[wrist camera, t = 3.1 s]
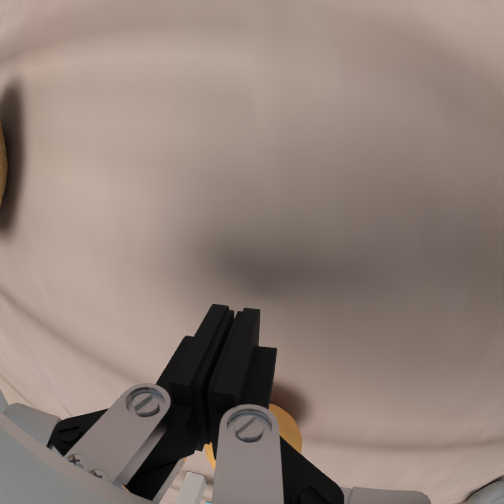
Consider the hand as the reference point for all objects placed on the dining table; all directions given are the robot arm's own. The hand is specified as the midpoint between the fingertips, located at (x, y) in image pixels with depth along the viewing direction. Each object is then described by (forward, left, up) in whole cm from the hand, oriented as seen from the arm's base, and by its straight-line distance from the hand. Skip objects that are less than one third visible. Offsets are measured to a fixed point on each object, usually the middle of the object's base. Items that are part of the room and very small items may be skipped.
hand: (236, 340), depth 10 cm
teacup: (-45, +41, -5) cm, 61 cm away
